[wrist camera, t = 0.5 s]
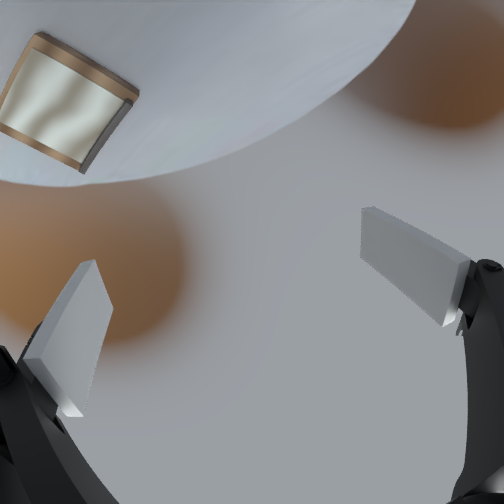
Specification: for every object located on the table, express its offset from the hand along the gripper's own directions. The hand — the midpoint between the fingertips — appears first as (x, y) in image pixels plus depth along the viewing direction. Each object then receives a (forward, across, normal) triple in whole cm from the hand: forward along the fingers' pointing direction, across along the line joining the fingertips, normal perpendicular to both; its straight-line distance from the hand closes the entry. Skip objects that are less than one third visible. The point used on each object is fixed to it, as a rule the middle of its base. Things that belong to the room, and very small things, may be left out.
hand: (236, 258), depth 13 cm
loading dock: (+27, -18, +16) cm, 36 cm away
